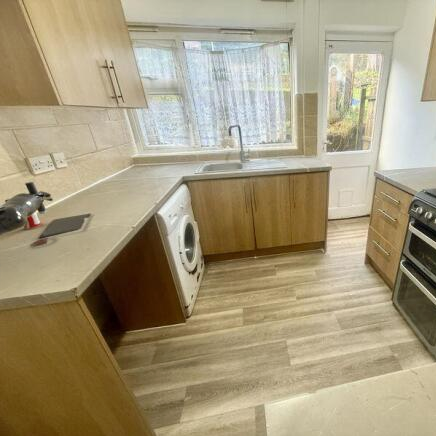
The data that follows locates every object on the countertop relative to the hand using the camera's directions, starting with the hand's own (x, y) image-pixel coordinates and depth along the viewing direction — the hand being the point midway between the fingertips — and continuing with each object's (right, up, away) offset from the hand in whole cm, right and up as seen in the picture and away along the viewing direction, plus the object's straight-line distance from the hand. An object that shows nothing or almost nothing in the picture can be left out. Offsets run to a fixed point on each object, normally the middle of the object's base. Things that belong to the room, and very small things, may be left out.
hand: (37, 194), depth 101 cm
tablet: (0, -14, +13) cm, 19 cm away
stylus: (+2, -8, +1) cm, 8 cm away
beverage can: (-16, -14, +14) cm, 25 cm away
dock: (+4, -20, -2) cm, 21 cm away
